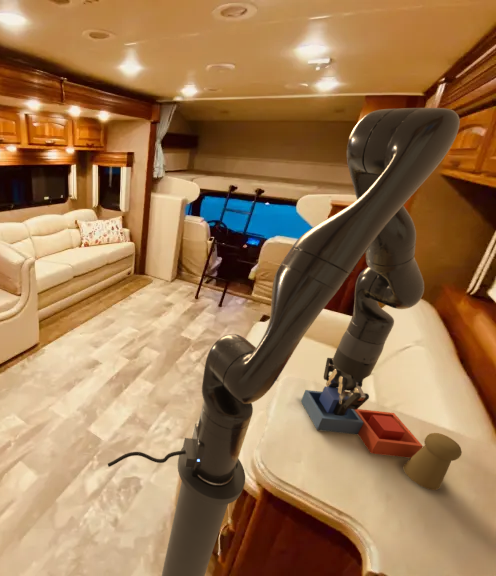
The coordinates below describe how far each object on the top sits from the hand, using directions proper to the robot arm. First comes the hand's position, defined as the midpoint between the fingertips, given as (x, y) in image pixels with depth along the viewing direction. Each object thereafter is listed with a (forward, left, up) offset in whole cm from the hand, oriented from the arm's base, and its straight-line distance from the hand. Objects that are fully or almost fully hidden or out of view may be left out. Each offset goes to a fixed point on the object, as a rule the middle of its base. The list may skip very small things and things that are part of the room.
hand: (332, 406), depth 80 cm
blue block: (0, 0, 0) cm, 0 cm away
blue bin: (0, 0, -4) cm, 4 cm away
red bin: (+9, -5, -4) cm, 11 cm away
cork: (+12, -14, -4) cm, 19 cm away
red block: (+9, -5, -3) cm, 11 cm away
